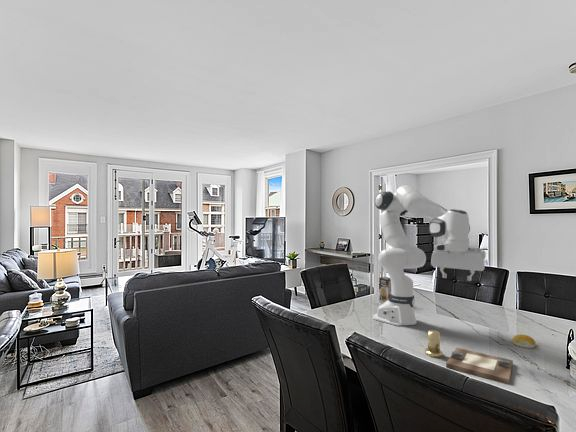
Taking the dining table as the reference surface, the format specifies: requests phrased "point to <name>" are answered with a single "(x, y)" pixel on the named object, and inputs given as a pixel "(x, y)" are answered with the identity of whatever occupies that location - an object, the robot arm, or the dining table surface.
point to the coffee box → (384, 288)
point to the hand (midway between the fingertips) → (456, 279)
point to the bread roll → (523, 341)
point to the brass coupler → (434, 344)
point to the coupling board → (481, 365)
